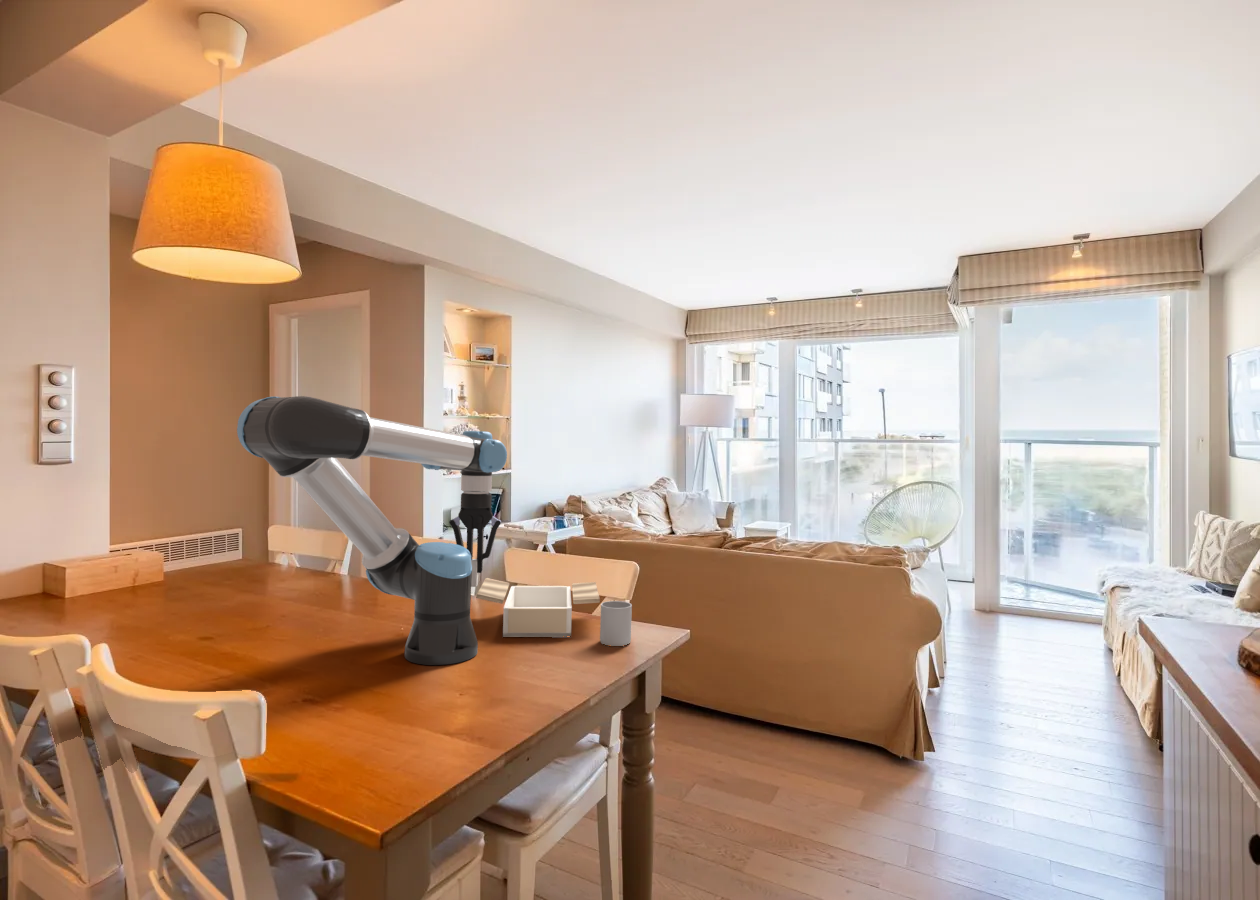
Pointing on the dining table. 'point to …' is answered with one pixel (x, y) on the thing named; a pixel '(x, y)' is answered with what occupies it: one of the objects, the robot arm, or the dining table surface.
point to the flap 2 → (585, 593)
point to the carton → (538, 611)
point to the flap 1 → (493, 590)
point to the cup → (615, 623)
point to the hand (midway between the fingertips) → (474, 585)
